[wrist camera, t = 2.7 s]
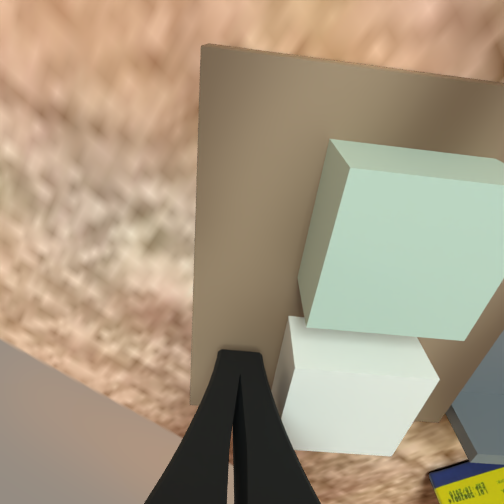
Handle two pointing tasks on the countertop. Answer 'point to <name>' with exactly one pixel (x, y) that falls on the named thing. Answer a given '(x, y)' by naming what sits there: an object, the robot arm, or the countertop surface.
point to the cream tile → (349, 388)
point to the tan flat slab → (311, 190)
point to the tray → (482, 409)
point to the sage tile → (403, 241)
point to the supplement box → (469, 484)
